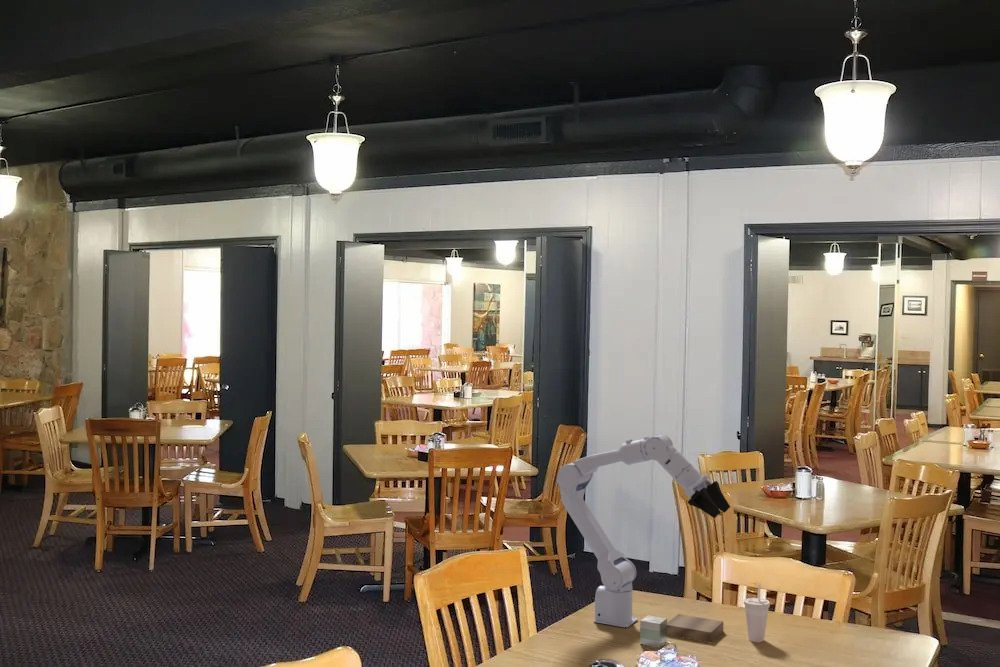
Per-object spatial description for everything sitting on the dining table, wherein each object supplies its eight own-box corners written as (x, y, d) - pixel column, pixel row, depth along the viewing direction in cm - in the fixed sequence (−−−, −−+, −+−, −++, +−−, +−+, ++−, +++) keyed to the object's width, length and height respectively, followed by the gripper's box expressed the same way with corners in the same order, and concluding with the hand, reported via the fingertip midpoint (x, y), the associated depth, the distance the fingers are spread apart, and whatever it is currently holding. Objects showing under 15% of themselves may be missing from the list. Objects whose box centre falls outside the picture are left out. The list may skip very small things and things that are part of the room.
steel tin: (639, 644, 238) (640, 620, 238) (647, 639, 242) (647, 615, 242) (659, 648, 235) (659, 624, 235) (666, 642, 240) (667, 618, 239)
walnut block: (664, 636, 246) (664, 624, 246) (678, 625, 254) (678, 614, 254) (711, 644, 240) (711, 632, 239) (723, 633, 248) (723, 621, 248)
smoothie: (770, 644, 238) (771, 588, 238) (743, 643, 239) (744, 586, 239) (768, 636, 244) (769, 581, 244) (742, 634, 246) (743, 579, 245)
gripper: (683, 465, 238) (723, 506, 233) (703, 457, 250) (742, 496, 245) (665, 485, 240) (704, 526, 235) (686, 476, 253) (723, 515, 248)
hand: (722, 512), depth 241 cm, fingers open, 7 cm apart
